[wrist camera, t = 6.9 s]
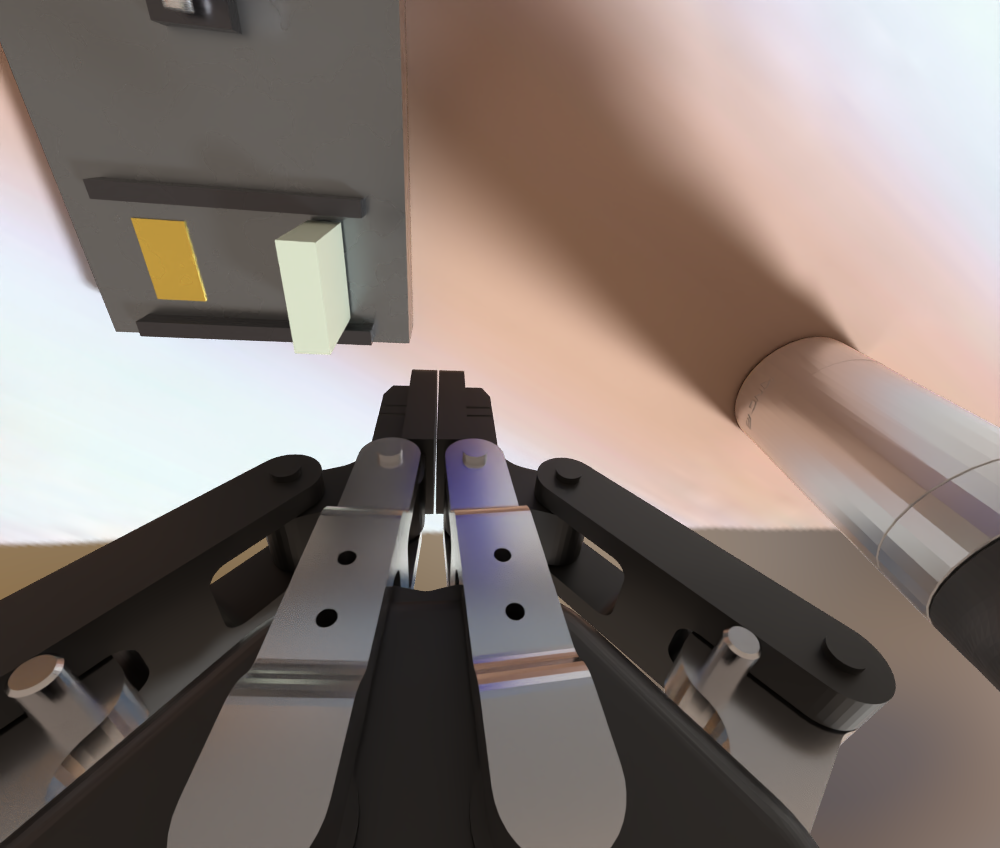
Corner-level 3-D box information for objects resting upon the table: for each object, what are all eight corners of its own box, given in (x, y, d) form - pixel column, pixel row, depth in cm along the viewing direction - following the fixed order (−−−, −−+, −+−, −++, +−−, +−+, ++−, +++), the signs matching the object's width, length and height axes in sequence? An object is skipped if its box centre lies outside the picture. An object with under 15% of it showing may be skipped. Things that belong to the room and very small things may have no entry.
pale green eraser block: (340, 222, 23) (315, 242, 18) (350, 318, 25) (330, 354, 21) (307, 220, 22) (274, 239, 18) (321, 316, 25) (294, 353, 21)
